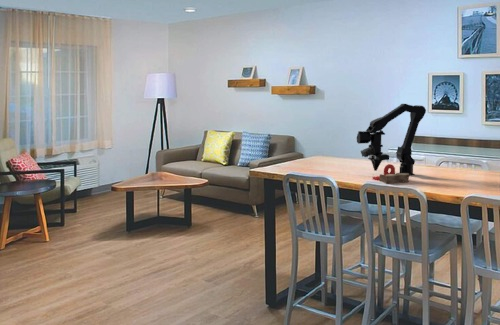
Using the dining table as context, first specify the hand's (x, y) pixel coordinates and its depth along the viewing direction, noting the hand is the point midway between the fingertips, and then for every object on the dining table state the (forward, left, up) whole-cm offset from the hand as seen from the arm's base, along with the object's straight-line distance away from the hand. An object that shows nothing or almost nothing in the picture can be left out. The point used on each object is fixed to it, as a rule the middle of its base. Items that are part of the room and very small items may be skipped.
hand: (375, 170), depth 272 cm
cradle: (0, +17, -3) cm, 17 cm away
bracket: (0, +8, -3) cm, 9 cm away
